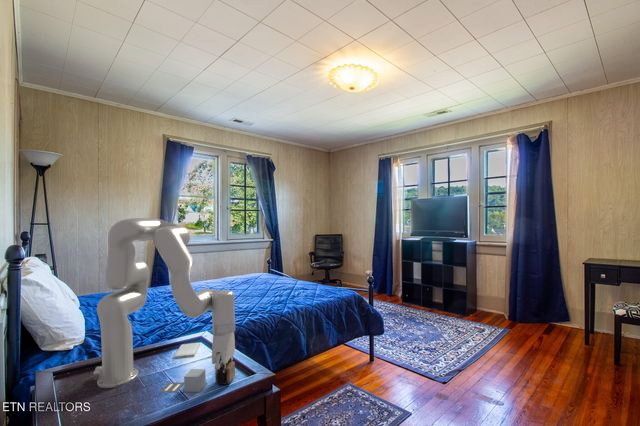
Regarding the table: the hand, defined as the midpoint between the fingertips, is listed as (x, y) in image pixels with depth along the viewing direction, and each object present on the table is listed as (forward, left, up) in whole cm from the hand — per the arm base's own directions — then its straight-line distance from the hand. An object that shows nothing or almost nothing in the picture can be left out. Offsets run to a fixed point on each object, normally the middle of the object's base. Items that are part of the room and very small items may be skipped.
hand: (225, 378), depth 109 cm
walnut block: (0, 0, 0) cm, 0 cm away
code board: (-13, -4, -2) cm, 14 cm away
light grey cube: (-9, -4, -1) cm, 10 cm away
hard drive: (-27, +25, -3) cm, 37 cm away
